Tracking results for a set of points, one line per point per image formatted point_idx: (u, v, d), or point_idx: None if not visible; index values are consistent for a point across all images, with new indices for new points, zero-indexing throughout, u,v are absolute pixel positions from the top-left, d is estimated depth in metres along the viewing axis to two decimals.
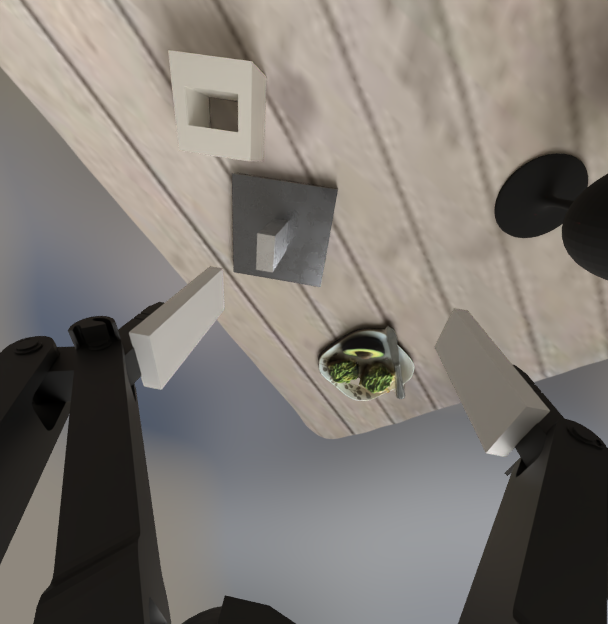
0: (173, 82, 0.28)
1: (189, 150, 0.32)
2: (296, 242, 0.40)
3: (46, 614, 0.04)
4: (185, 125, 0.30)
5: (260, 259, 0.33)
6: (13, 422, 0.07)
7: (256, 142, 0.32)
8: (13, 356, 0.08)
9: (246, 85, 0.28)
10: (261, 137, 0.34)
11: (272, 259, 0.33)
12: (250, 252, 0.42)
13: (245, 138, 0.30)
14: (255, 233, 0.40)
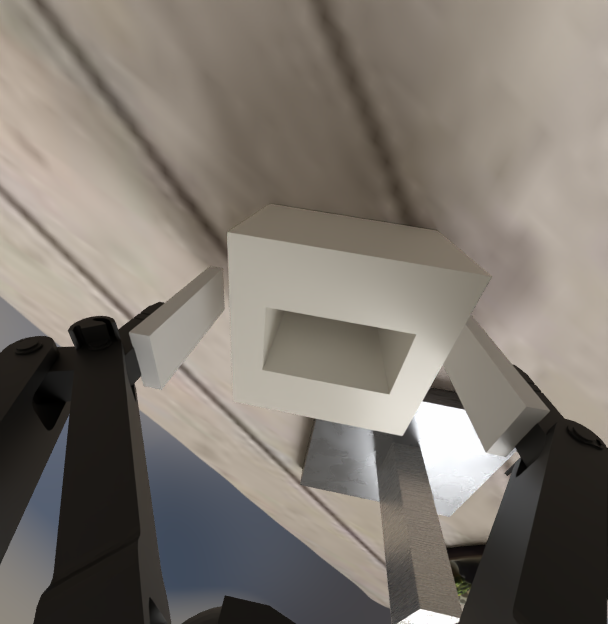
0: (234, 297, 0.10)
1: (258, 404, 0.14)
2: (425, 471, 0.22)
3: (47, 614, 0.04)
4: (255, 370, 0.12)
5: (408, 623, 0.15)
6: (13, 422, 0.07)
7: None
8: (13, 356, 0.08)
9: (448, 322, 0.10)
10: None
11: None
12: (335, 470, 0.24)
13: (405, 404, 0.12)
14: (351, 453, 0.22)
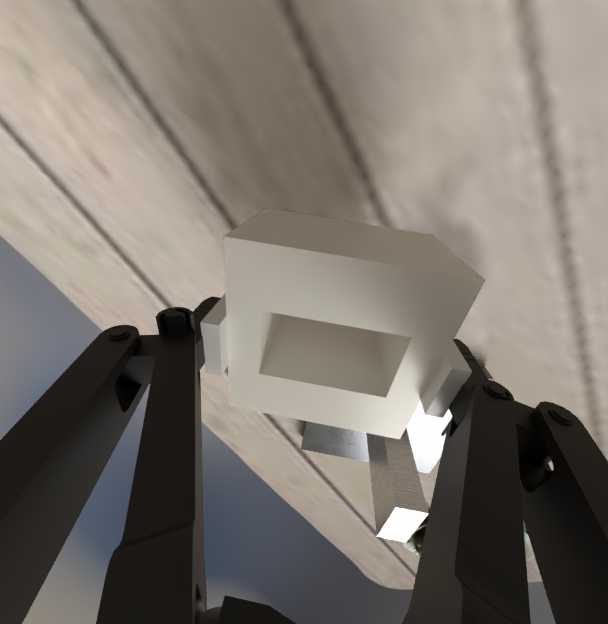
0: (231, 301, 0.10)
1: (255, 408, 0.14)
2: (406, 428, 0.27)
3: (115, 571, 0.04)
4: (251, 373, 0.12)
5: (389, 529, 0.19)
6: (98, 402, 0.07)
7: None
8: (106, 341, 0.09)
9: (443, 325, 0.10)
10: None
11: (411, 532, 0.19)
12: (331, 432, 0.28)
13: (402, 407, 0.12)
14: None
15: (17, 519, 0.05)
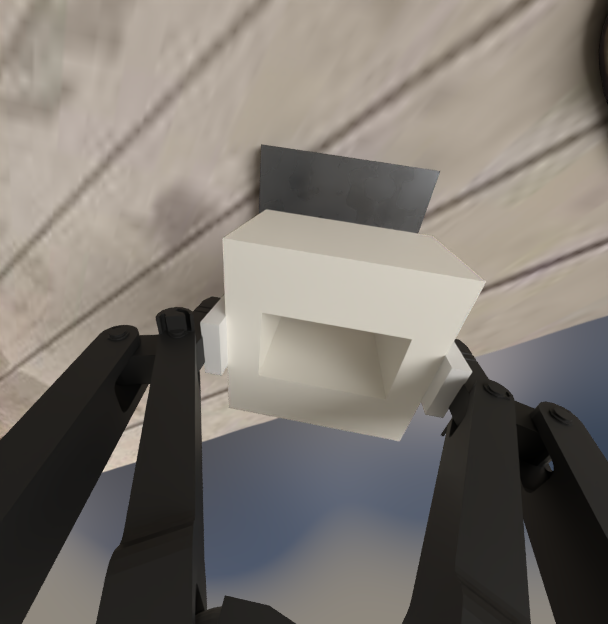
0: (230, 303, 0.10)
1: (254, 410, 0.13)
2: (345, 219, 0.24)
3: (115, 571, 0.04)
4: (251, 375, 0.12)
5: None
6: (98, 402, 0.07)
7: None
8: (106, 341, 0.09)
9: (443, 327, 0.10)
10: None
11: None
12: None
13: (402, 409, 0.12)
14: None
15: (17, 520, 0.05)
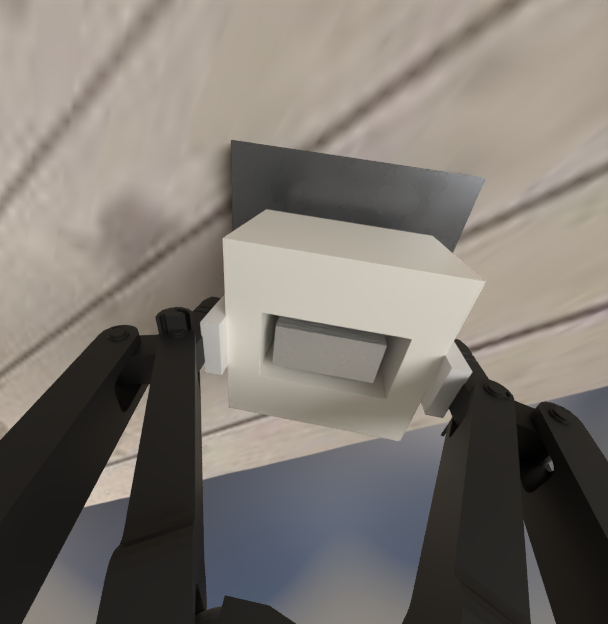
0: (230, 303, 0.10)
1: (254, 410, 0.14)
2: None
3: (115, 571, 0.04)
4: (251, 375, 0.12)
5: (343, 369, 0.12)
6: (98, 402, 0.07)
7: None
8: (106, 341, 0.09)
9: (443, 326, 0.10)
10: None
11: (344, 341, 0.11)
12: None
13: (402, 409, 0.12)
14: None
15: (17, 519, 0.05)
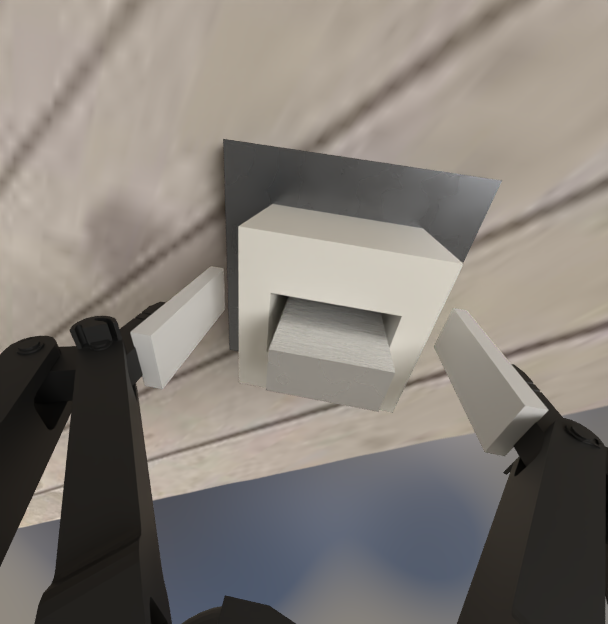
0: (243, 284, 0.12)
1: (261, 385, 0.15)
2: None
3: (47, 613, 0.04)
4: (260, 351, 0.14)
5: (345, 396, 0.10)
6: (15, 422, 0.07)
7: None
8: (15, 356, 0.08)
9: (428, 304, 0.11)
10: None
11: (346, 366, 0.10)
12: None
13: (394, 381, 0.14)
14: None
15: None
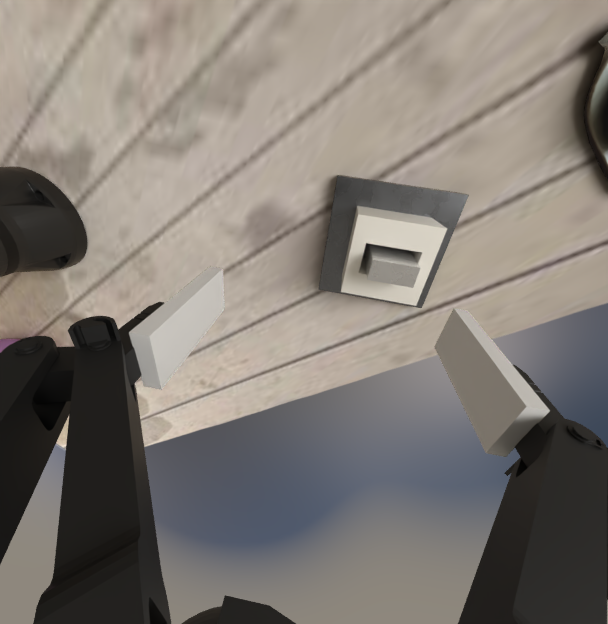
0: (354, 239, 0.28)
1: (352, 292, 0.31)
2: None
3: (47, 614, 0.04)
4: (355, 273, 0.30)
5: (400, 280, 0.26)
6: (13, 422, 0.07)
7: None
8: (13, 357, 0.08)
9: (433, 246, 0.27)
10: None
11: (402, 266, 0.26)
12: None
13: (417, 287, 0.29)
14: None
15: None
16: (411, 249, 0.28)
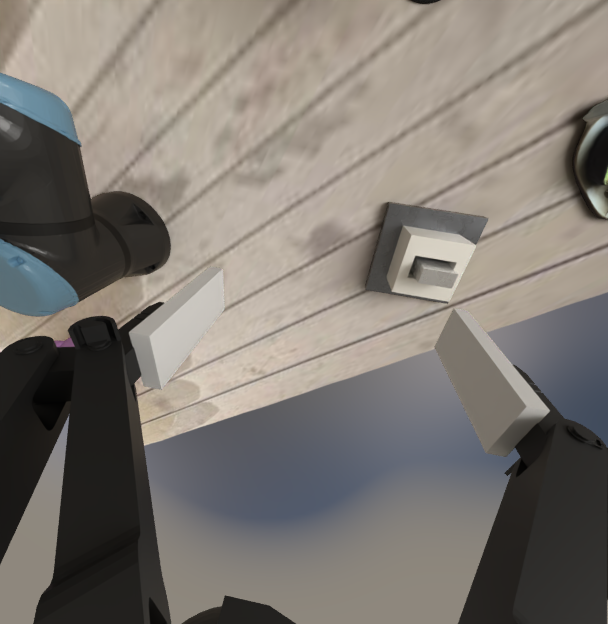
0: (407, 252, 0.38)
1: (401, 292, 0.41)
2: None
3: (46, 614, 0.04)
4: (404, 277, 0.40)
5: (442, 283, 0.36)
6: (13, 422, 0.07)
7: None
8: (13, 356, 0.08)
9: (465, 258, 0.37)
10: None
11: (445, 273, 0.35)
12: None
13: None
14: None
15: None
16: (449, 260, 0.37)
